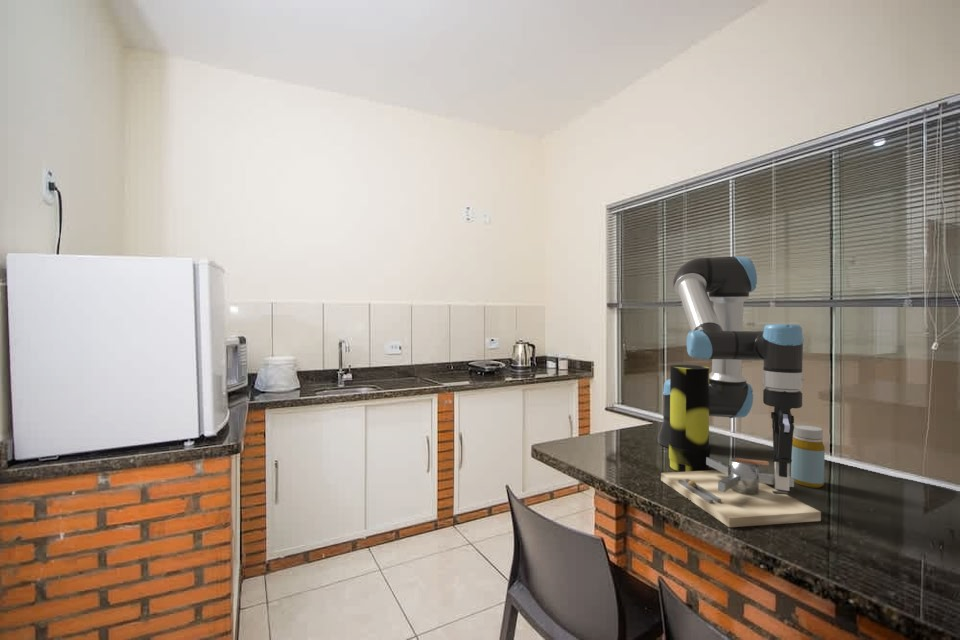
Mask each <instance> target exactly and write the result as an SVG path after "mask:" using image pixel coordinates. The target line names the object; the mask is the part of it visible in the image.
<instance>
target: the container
mask: <svg viewBox="0 0 960 640" xmlns="http://www.w3.org/2000/svg"><path fill="white" fill-rule="evenodd" d="M669 367H670V370H669V371H670V372H669V373H670V375H669V377H670V378H669V379H670V442H669V448H668V459H669V467H670V468H671V469H672V470H674V472H688V471H708V470H709V467H710V466H708V465H706V457H711V448H710V416H709V374H710V367H708V366H704V365H692V364H673V365H670V366H669Z"/></svg>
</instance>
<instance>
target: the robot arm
mask: <svg viewBox="0 0 960 640" xmlns="http://www.w3.org/2000/svg"><path fill="white" fill-rule="evenodd" d="M757 276H758V275H757V269H756V267H755V264H754V263H753V261H752V259H750V258H749V257H746V256H734V255H733V256H717V257H697V258H693V259H690V260H688V261H687V262H685V263H684V264H683V265H681V266H680V267H679V269H677V271H676V273H675V274H674V277H673V281H672V282H673V284H672V285H673V289H674V293H675V294H676V296H677V297H679V298H680V300H681V303H682V306H683V309H684V313H685V316H686V319H687V322H688V326H689V328H690V331H689V332H687V333H688V334H687V336H686V352H687V354H688V356H689V357H690V358H693V359H702V360H711V363H712V364H711V371H710V372H709V417H713V418H714V417H718V418H729V419H735V418H736V419H741V418H745V417H747V416H748V415H749V414H750V412H751V410H752V407H753V403H754V394H753V392H754V390H753V387H752V385H751V384H749V383H748V382H747V378H746V377H745V376H744V375H743V373H742V360H744V361H763V368H762V386H764V387H765V388H764V389H762V395H763V398H762V399H763V400H762V402H763V404H764V405H766V406H769V407H774V409H773V411H771V412H770V418H771V419H772V423H771V425H772V426H771V427H772V444H773V445H772V448H773V450H772V454H773V458H772V462H774V475H775V485H773V486H774V487H773V488H774V489H776V490H778V491H785V492H790V487H789V476H790V469H791V462H792V441H793V438H794V425H795V424H794V422H795V417H794V415H793V413H791V410H792V409H801V408H802V407H803V392H802V391H800V390H802V389H803V382H802V381H805V380H806V376H804V375H803V355H804V353H803V352H804V346H803V345H804V337H803V335H804V334H803V327H802V326H801V325H799V324H797V323H796V324H793V323H792V324H787V323H785V324H782V323H781V324H780V323H771V324H765V326H764V327H763V330H755V331H754V330H753V331H751V330H750V331H749V330H747V331H746V330H745V331H744V330H743V329H744V328H743V327H744V326H743V325H744V321H743V320H744V302H745V301H746V300H747V299H749V298H750V293H752V292H754V291H755V290H756V288H757V285H758V284H757V283H758V277H757ZM711 301H712V302H711ZM712 303H713V304H712ZM662 391H663V392H662V395H663V408H662V409H663V412H662V413H663V419H662V423H661V425H660V428H659V432H658V434H657V442H658V444H659V445H661V446H663V447H666V448H668V449H669V442H670V378H669V379H667V380H665V381H664V383H663V390H662Z"/></svg>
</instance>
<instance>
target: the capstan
mask: <svg viewBox="0 0 960 640" xmlns="http://www.w3.org/2000/svg"><path fill="white" fill-rule="evenodd" d="M729 462H730V463H729V464H727V463H725V462H723V461H721V460H718V459H717V458H714V457H712V456H710V457H706V465H708V466H709V467H711V468H712V469H713V470H718V471H720V472H722V473H724V474H726V475H729V476H727V477H725V478H724V479H722V480H720V481H719V482H718V490H719V491H722V492H726V491H727V490H729V489H732V490H734V491H736V492H739V493H742V494H748V495H755V494H758V493H759V483H763V484H765V485H773V486H774V485H775V474H774V473H773V474H772V473H764V472H760V465H762V466H770V462H769V461H768V460H767V461H766V460H759V459H749V458H743V457H734V458H733V457H732V458H731V459H730V460H729ZM794 487H795V482H794V478H793V477H791V475H789V488H794Z"/></svg>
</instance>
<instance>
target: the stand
mask: <svg viewBox="0 0 960 640" xmlns="http://www.w3.org/2000/svg"><path fill="white" fill-rule="evenodd" d="M727 476H729V475H726V474H724V473H722V472H720V471H718V470H716V469H711V470H708V471H688V472H678V471H674V472H673V471H671V472H660V481H661V482H662V483H664V484H666V485H667V486H669V487H670V488H671V489H673V490H675V491H676V492H677V493H679V494H680V495H682V497H685V498H686V499H687V498H688V499H687V500H689V501H690V500H691V501H690V502H692V503H693V504H695V505H696V506H697V507H699V508H700V509H702V510H703V511H705V512H706V513H708V514H709V515H711V516H712V517H713V518H715V519H717V521H720V522H721V523H722V524H724V525H725V526H727V527H728V528H738V527H753V526H754V527H755V526H769V525H782V524H783V525H784V524H794V523H795V524H796V523H809V522H822V521H821V520H822V511H820V510H819V509H816V508H814V507H812V506H811V505H808V504H807V503H804V502H802V501H800V500H799V499H796V498H794V497H792V496H790V495H789V492H788V491H785V490H779V489H775V487H772V486H769V485H768V484H763V483H759V493H758V494H755V495H748V494H742V493H739V492H736V491H734V490H732V489H729V490H727V491H726V492H722V491H719V490H718V482H719V481H720V480H722V479H724V478H725V477H727Z"/></svg>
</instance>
